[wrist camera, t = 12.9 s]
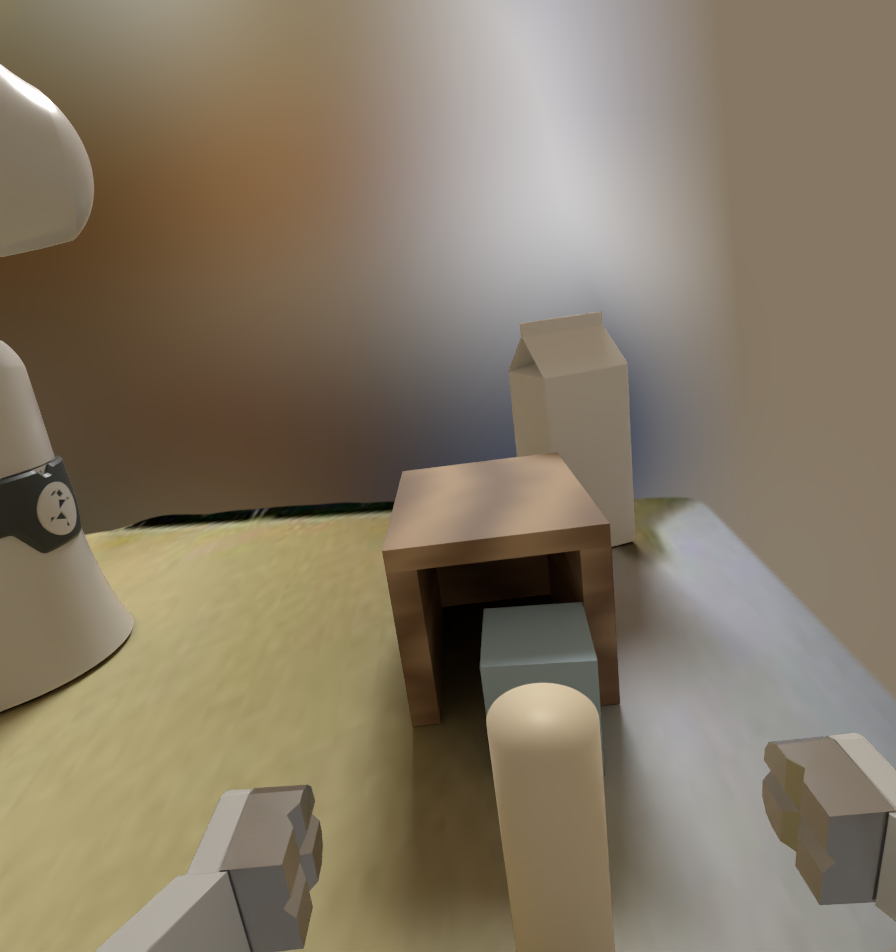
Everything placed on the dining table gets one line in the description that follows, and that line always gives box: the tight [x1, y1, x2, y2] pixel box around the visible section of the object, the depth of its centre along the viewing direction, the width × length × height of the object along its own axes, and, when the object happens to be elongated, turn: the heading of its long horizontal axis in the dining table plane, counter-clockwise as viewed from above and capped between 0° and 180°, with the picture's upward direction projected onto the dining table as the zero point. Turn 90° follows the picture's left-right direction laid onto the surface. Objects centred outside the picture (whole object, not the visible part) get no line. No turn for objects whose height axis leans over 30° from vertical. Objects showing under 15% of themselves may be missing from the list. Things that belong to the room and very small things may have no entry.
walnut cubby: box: [382, 452, 620, 727], centre depth 36 cm, size 11×14×10 cm
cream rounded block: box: [480, 602, 615, 952], centre depth 22 cm, size 5×16×11 cm, turn 175°
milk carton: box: [509, 312, 635, 547], centre depth 49 cm, size 7×7×19 cm
